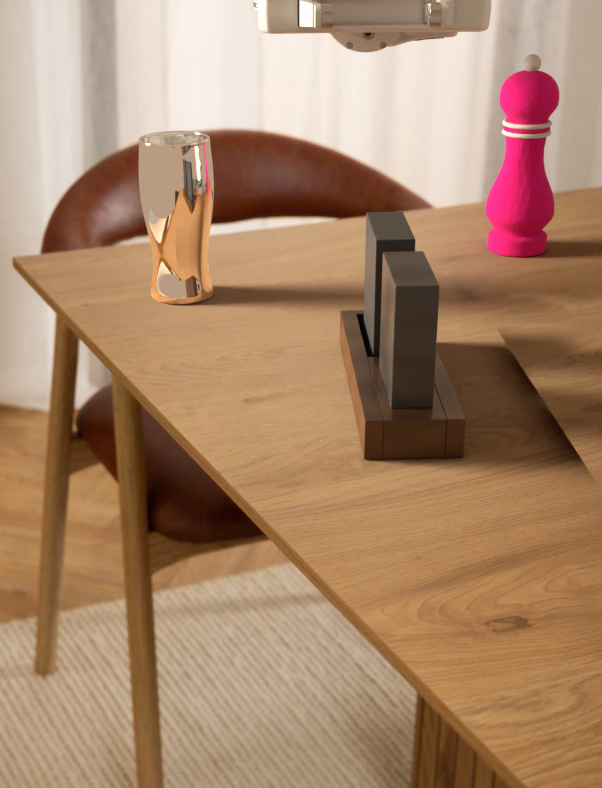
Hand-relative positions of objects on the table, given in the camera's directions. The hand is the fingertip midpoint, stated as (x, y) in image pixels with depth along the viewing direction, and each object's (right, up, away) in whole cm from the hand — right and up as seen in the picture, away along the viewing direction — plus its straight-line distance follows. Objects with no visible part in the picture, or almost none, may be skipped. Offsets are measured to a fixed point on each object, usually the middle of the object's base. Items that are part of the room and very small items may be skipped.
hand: (381, 17), depth 97 cm
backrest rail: (+1, -31, -3) cm, 31 cm away
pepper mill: (+17, -13, +31) cm, 38 cm away
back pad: (0, -29, +1) cm, 29 cm away
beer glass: (-18, -20, +19) cm, 33 cm away
